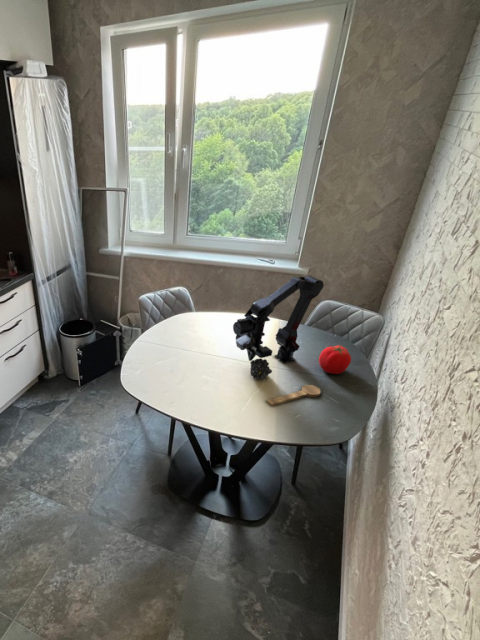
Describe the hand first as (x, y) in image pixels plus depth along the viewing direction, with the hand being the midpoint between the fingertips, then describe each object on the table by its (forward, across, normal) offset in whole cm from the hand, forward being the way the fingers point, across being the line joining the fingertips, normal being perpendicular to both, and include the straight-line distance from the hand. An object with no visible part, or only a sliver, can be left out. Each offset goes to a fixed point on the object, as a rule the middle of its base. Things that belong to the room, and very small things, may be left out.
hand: (250, 360), depth 183 cm
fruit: (+3, +7, 0) cm, 8 cm away
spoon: (+3, +27, +1) cm, 27 cm away
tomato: (+3, +17, +31) cm, 36 cm away
